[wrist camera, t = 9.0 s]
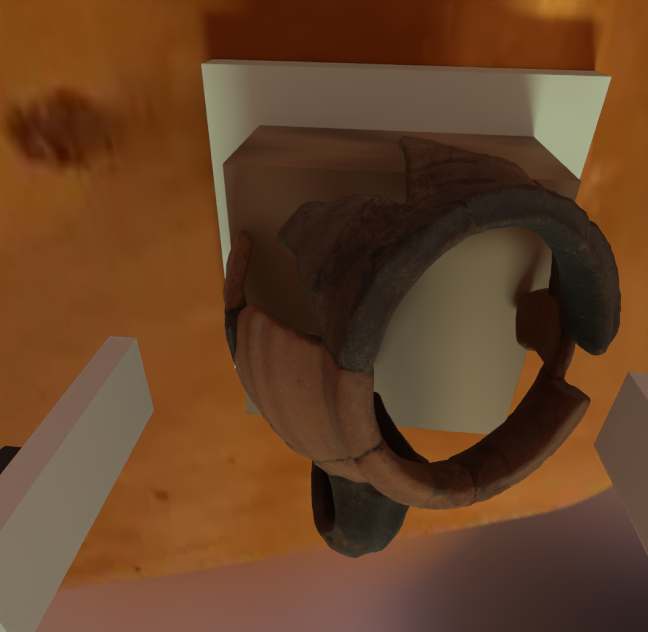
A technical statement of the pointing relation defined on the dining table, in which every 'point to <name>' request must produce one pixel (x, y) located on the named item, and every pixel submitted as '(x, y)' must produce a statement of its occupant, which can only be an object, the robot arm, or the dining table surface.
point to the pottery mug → (372, 321)
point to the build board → (398, 105)
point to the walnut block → (431, 288)
